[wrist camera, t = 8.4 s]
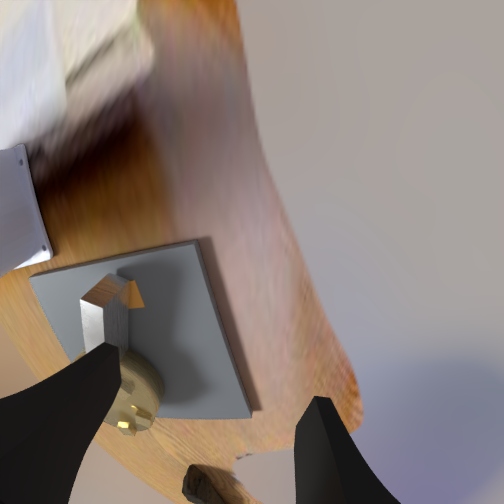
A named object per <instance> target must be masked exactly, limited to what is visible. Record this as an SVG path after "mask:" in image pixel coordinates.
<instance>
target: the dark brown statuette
mask: <svg viewBox="0 0 504 504" xmlns="http://www.w3.org/2000/svg"><path fill="white" fill-rule="evenodd" d="M182 493H183V494H184V496H185V497H186V498H187V500H188V501H190V502H192V503H194V504H225V503H224V501H223V500H222V498H221V497H220V496H219V495H218V494H217V493H216V491H215V490H214V489H213V488H212V484H211V480H210V479H209V477H208V476H207V475H205V474H204V473H203V472H202V471H200V470H199V469H197V468H196V467H194V466H193V465H190V466H189V468H188V470H187V473H186V475H185V477H184V480H183V488H182Z"/></svg>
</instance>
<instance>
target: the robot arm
mask: <svg viewBox="0 0 504 504" xmlns="http://www.w3.org/2000/svg"><path fill="white" fill-rule="evenodd" d="M22 161H23V163H22ZM45 246H46V247H45ZM52 257H53V251H52V248H51V245H50V242H49V239H48V236H47V233H46V230H45V227H44V224H43V221H42V217H41V214H40V210H39V207H38V203H37V199H36V196H35V192H34V188H33V183H32V179H31V174H30V170H29V165H28V160H27V154H26V149H25V146H24V144H19V145H17V146H16V147H15V148H10V149H5V150H0V278H1V277H3V276H4V275H6V274H7V273H9V272H10V271H12V270H14V269H18V268H21V267H25V266H29V265H32V264H36V263H40V262H43V261H47V260H50V259H51V258H52ZM121 384H122V380H121V370H120V359H119V347H117V346H114V345H111V344H109V343H106V342H103V343H101V344H100V345H98V346H97V347H95V348H94V349H92V350H91V351H89V352H88V353H87V354H85V355H84V356H82V357H81V358H79V359H78V360H76V361H75V362H73V363H71V364H70V365H68V366H67V367H65V368H64V369H62V370H60V371H59V372H57V373H55V374H54V375H52V376H50V377H48V378H47V379H45V380H43V381H41V382H39V383H38V384H35V385H33V386H31V387H30V388H27V389H25V390H23V391H20V392H18V393H16V394H13V395H10V396H7V397H4V398H1V399H0V504H68V502H69V498H70V494H71V491H72V487H73V484H74V481H75V479H76V475H77V472H78V470H79V467H80V465H81V462H82V460H83V457H84V455H85V453H86V450H87V448H88V446H89V445H90V443H91V441H92V439H93V438H94V436H95V434H96V432H97V431H98V429H99V427H100V426H101V424H102V422H103V420H104V419H105V417H106V415H107V413H108V412H109V410H110V408H111V407H112V405H113V403H114V400H115V398H116V396H117V393H118V391H119V389H120V386H121ZM294 461H295V482H296V484H295V485H296V504H401V503H400V502H399V501H398V500H397V499H395V497H394V496H393V495H391V493H390V492H389V491H388V490H387V489H386V488H385V487H384V486H383V484H382V483H381V482H380V481H379V479H378V478H377V477H376V475H375V474H374V473H373V471H372V470H371V469H370V467H369V466H368V464H367V463H366V461H365V460H364V458H363V457H362V455H361V453H360V452H359V450H358V449H357V447H356V445H355V444H354V442H353V440H352V438H351V436H350V435H349V433H348V431H347V429H346V427H345V425H344V424H343V422H342V420H341V418H340V416H339V414H338V412H337V410H336V408H335V406H334V404H333V402H332V400H331V399H330V398H328V397H319V396H314V398H313V399H312V401H311V403H310V404H309V406H308V408H307V409H306V411H305V412H304V414H303V416H302V417H301V419H300V421H299V422H298V424H297V425H296V431H295V443H294Z"/></svg>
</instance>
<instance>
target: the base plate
mask: <svg viewBox="0 0 504 504" xmlns="http://www.w3.org/2000/svg"><path fill="white" fill-rule="evenodd" d="M108 273H111V274H114V275H117V276H120V277H123V278H126V279H129V280H130V284H129V311H128V348H129V349H131V350H133V351H134V352H136V353H137V354H139V355H140V356H142V357H143V358H144V359H145V360H146V361H148V362H149V363H150V364H151V365H152V367H153V368H154V369H155V370H156V371H157V373H158V374H159V376H160V378H161V379H162V382H163V384H164V389H165V393H164V397H163V400H162V402H161V405H160V407H159V410H158V412H157V414H156V417H159V418H175V419H247V418H252V409H251V406H250V404H249V401H248V398H247V395H246V392H245V390H244V387H243V384H242V381H241V378H240V375H239V372H238V369H237V366H236V364H235V361H234V358H233V355H232V352H231V349H230V346H229V343H228V340H227V336H226V333H225V330H224V327H223V324H222V321H221V318H220V315H219V311H218V308H217V305H216V302H215V298H214V295H213V292H212V289H211V285H210V282H209V278H208V275H207V272H206V268H205V265H204V261H203V258H202V254H201V251H200V247H199V244H198V240H193V241H188V242H183V243H178V244H173V245H168V246H163V247H158V248H153V249H148V250H143V251H138V252H133V253H128V254H124V255H119V256H114V257H109V258H105V259H100V260H95V261H91V262H86V263H82V264H77V265H72V266H68V267H63V268H59V269H55V270H50V271H46V272H41V273H37V274H34V275H32V276H31V277H29V280H30V283H31V285H32V288H33V290H34V292H35V294H36V297H37V299H38V301H39V303H40V305H41V307H42V309H43V312H44V314H45V316H46V318H47V320H48V322H49V324H50V325H51V327H52V329H53V331H54V333H55V335H56V337H57V339H58V340H59V342H60V344H61V346H62V347H63V349H64V351H65V353H66V354H67V356H68V358H69V359H70V361H71V363H72V362H73V361H74V359H75V358H76V357H77V356H78V354H79V353H80V352H81V351H82V349H83V348H84V347H85V343H84V335H83V327H82V317H81V306H80V299H81V298H82V297H83V296H84V295H85V294H86V293H87V292H88V291H89V290H90V289H91V288H93V287H94V286H95V285H96V284H97V283H98V282H99V281H100V280H101V279H103V278H104V277H105V276H106V275H107V274H108Z"/></svg>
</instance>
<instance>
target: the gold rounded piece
mask: <svg viewBox="0 0 504 504" xmlns="http://www.w3.org/2000/svg"><path fill="white" fill-rule="evenodd" d="M129 284H130V280H129V279H126V278H123V277H120V276H117V275H114V274H111V273H108V274H107V275H106V276H105V277H104V278H103V279H101V280H100V281H99V282H98V283H97V284H96V285H95V286H94V287H93V288H91V289H90V290H89V291H88V292H87V293H86V294H85V295H84V296H83V297H82V298H81V299H80V306H81V317H82V327H83V335H84V343H85V347H84V348H83V349H82V351H81V352H80V353H79V354H78V356H77V357H76V358H75V359H74V361H73V362H75V361H76V360H78V359H79V358H81V357H82V356H84V355H85V354H87V353H88V352H89V351H91V350H92V349H94V348H95V347H97V346H98V345H100V344H101V343H103V342H106V343H109V344H111V345H114V346H117V347H119V359H120V370H121V380H122V384H121V386H120V389H119V391H118V393H117V396H116V398H115V400H114V403H113V405H112V407H111V408H110V410H109V412H108V413H107V415H106V417H105V419H104V420H103V421H104V422H106V423H108V424H110V425H112V426H115V427H117V428H118V429H119V430H120V431H121V432H122V433H123V434H124V435H130V436H135V434H136V432H137V431H143V430H146V429H148V428H151V426H152V424H153V422H154V419H155V417H156V414H157V412H158V410H159V407H160V405H161V402H162V400H163V397H164V393H165V389H164V384H163V382H162V379H161V378H160V376H159V374H158V373H157V371H156V370H155V369H154V368H153V367H152V365H151V364H150V363H149V362H148V361H146V360H145V359H144V358H143V357H142V356H140V355H139V354H137V353H136V352H134V351H133V350H131V349H129V348H128V311H129ZM73 362H72V363H73Z"/></svg>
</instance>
